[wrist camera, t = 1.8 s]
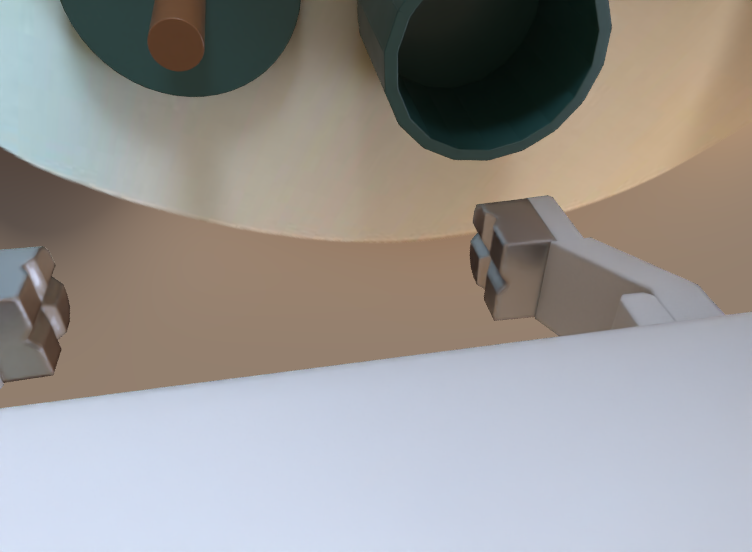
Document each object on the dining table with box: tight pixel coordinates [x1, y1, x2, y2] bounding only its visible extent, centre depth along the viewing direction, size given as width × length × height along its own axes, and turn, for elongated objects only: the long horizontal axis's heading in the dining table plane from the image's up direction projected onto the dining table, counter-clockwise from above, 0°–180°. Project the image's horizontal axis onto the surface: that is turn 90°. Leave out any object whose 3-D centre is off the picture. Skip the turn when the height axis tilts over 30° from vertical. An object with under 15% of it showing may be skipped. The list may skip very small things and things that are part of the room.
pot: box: [357, 0, 612, 161], centre depth 40 cm, size 14×14×10 cm
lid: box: [60, 0, 301, 97], centre depth 36 cm, size 15×15×10 cm
